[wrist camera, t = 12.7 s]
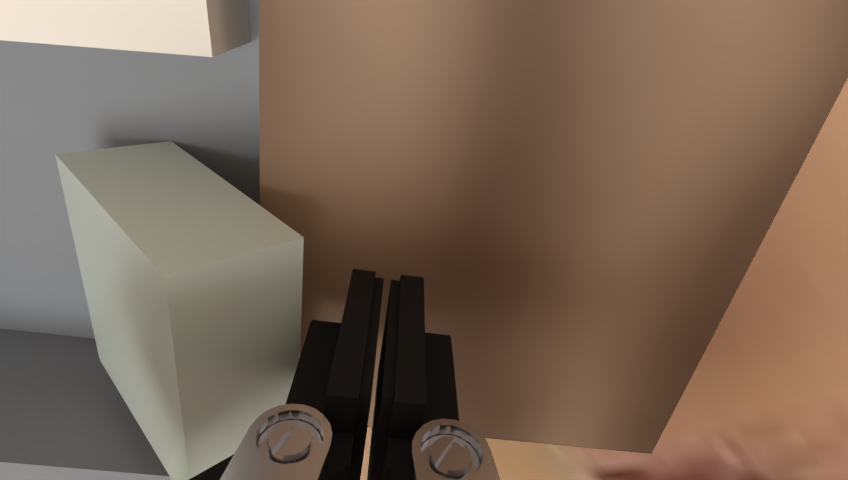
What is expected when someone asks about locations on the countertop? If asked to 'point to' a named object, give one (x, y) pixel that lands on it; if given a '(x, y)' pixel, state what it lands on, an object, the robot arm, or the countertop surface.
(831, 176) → the countertop surface
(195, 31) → the tile cream
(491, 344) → the walnut board
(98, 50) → the box
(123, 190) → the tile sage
